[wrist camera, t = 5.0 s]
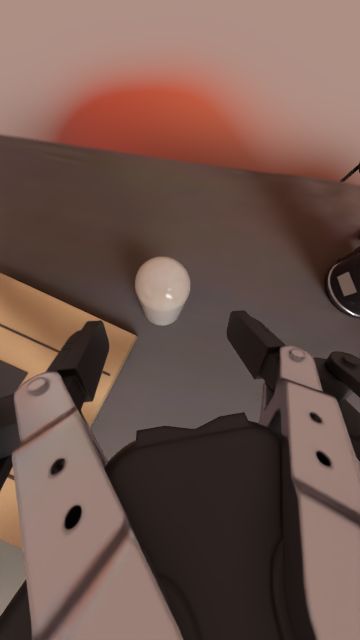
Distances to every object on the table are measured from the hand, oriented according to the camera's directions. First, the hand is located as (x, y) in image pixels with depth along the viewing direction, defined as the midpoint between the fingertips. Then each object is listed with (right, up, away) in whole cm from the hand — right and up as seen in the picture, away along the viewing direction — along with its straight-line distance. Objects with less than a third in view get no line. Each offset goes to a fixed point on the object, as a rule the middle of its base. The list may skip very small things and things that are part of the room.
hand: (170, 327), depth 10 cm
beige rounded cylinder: (-2, +2, +11) cm, 11 cm away
